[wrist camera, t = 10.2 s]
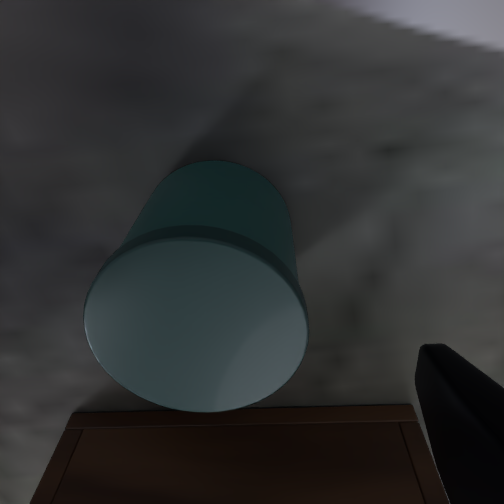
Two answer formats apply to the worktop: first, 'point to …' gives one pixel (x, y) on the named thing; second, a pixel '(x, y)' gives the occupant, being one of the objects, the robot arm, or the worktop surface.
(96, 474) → the cabinet
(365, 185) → the worktop surface
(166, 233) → the tea tin
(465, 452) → the robot arm
